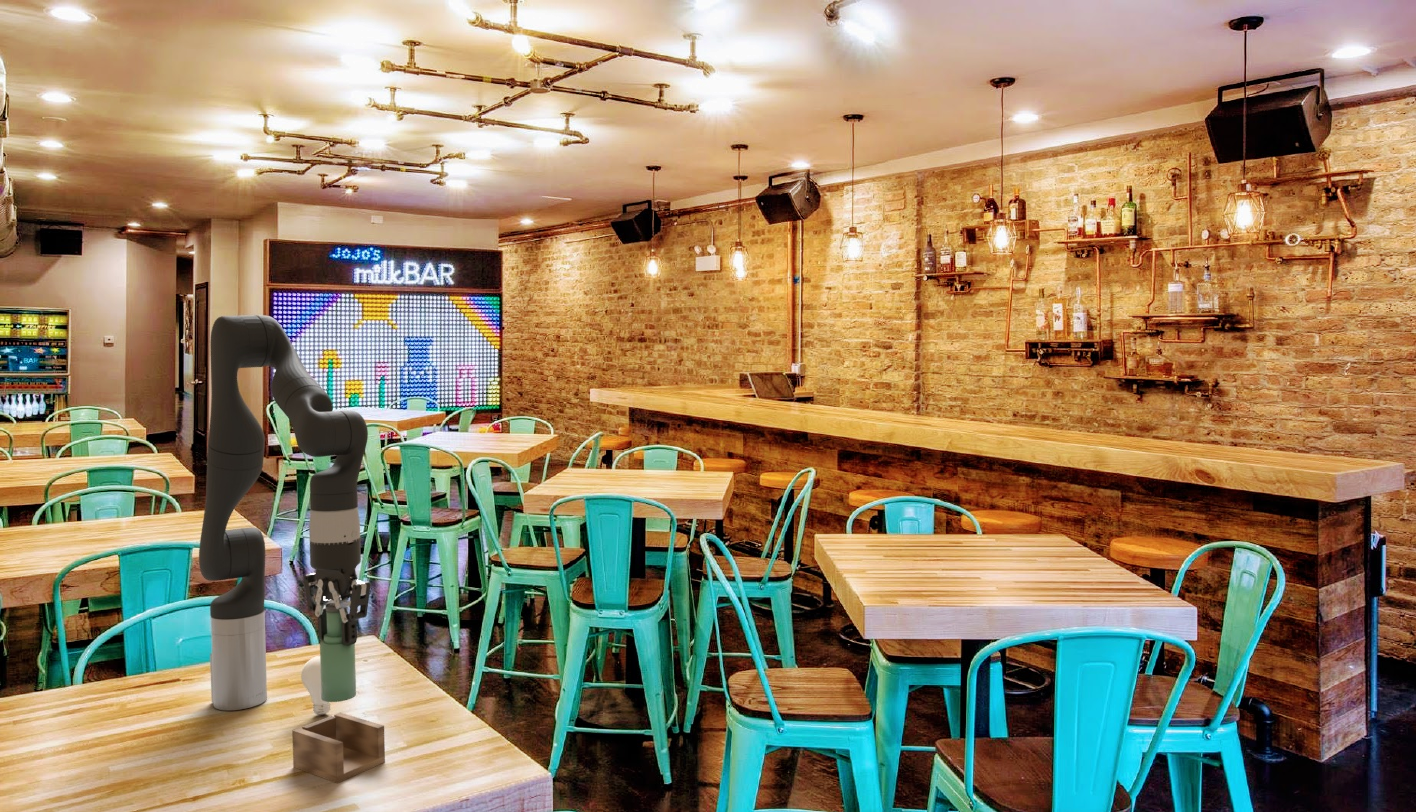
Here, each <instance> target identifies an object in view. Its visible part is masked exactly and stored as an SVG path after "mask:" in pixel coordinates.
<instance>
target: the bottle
mask: <svg viewBox="0 0 1416 812" xmlns="http://www.w3.org/2000/svg"><path fill="white" fill-rule="evenodd" d="M325 605H326V614H327V634H325V635H324V640H321V641H319V656H320V665H321V699H322V700H323V701H326V702H329V703H337V702H338V703H339V702H343V701H348V700H352V699H354V697H356V695H357V679H356V676H357V674H356V671H357V670H356V669H357V668H356V643H355V644H352V645H349V646H345V645H343V644H342V623H343V621H342V618H341V614H340V611H339V610H338V609H336V607H335V603H331V604H328V605H327V604H325ZM346 608H347V609H348V607H346Z"/></svg>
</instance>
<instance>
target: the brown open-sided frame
mask: <svg viewBox="0 0 1416 812" xmlns="http://www.w3.org/2000/svg"><path fill="white" fill-rule="evenodd" d="M291 735H292V760H293V763H292V766H293V768H296V769H297V770H301V771H303V772H306V773H309V774H311V775H315V776H317V777H320V778H323V779H324V780H328V781H331V782H334V783H335V784H336V783H337V784H339V783H341V782H343V781H346V780H347V779H349V778H353V777H354V776H356V775H359V774H361V773H364V772H365V771H368V770H370V769H372V768H374V767H376V766H379V765H381V764H384V763H385V762H386V754H385V753H386V752H385V750H386V747H385V746H386V745H385V725H383V724H379V723H376V722H374V721H373V722H372V721H370V720H366V719H363V718H360V717H357V716H353V715H351V714H346V713H344V712H338V713H336V714H334V715H333V716H332V715H330V716H328V717H325V718H322V719H318V720H316V721H315V722H311V723H309V724H305V725H303V726H301V727H298V728H295V729H293V730H292V734H291Z"/></svg>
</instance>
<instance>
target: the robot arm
mask: <svg viewBox="0 0 1416 812" xmlns="http://www.w3.org/2000/svg"><path fill="white" fill-rule="evenodd" d="M209 342H210V379H211V380H210V382H211V383H210V384H211V404H210V405H211V406H210V418H209V421H210V422H209V432H208V440H207V456H206V490H205V491H206V492H205V493H206V495H205V505H204V506H205V507H204V512H203V513H204V514H203V520H202V526H201V533H200V540H199V549H198V564H199V570H200V574H201V576H202V577H203V579H205V580H206V581H209V582H219V581H227V580H231V579H232V580H233V579H240V578H241V579H240V581H239V582H238V584H236V586H234V587H233V588H231V589H230V590H229V591H227V592H225V593H223V594H221V595H219V596H217V597H215V598H214V599H213V600H212V601H211V603H210V606H209V610H210V614H209V616H210V637H211V640H210V641H211V653H210V654H209V661H210V664H209V665H210V692H211V693H210V694H211V703H213V708H214V709H215V710H220V711H239V710H245V709H248V708H253V707H256V706H259V705H261V704H263V703H264V702H266V700H267V699H268V685H267V680H268V679H267V678H268V677H267V652H266V651H267V650H266V621H265V619H266V618H265V615H266V614H265V598H266V587H265V586H266V583H265V582H266V581H265V579H266V578H265V577H266V576H265V575H266V544H265V538H264V535H263V533H262V531H261V530H260V529H259V528H257V527H252V526H251V527H241V528H232V529H227V526H228V524H229V520H230V518H231V515H232V514H233V512H234V510H235V508H236V507H237V505H238V504H239V503H241V501H242V500H243V498H244V497H245V495H246V494H247V493H248V492H249V491H250V489H252V487H253V486H254V484H255V483H256V482H257V480H258V479H259V477H260V474H261V473H262V470H263V467H264V457H265V456H264V455H265V445H266V443H265V441H266V437H265V433H264V430H263V428H262V426H261V424H260V423H259V421H258V418H256V416H255V415H254V414H253V412H252V411H251V409H250V408H249V406H248V405H247V404H246V402H245V401H244V399H243V397H242V394H241V392H240V387H239V382H238V373H239V369H248V368H264V367H271V368H273V369H274V370H275V372H274V374H273V377H272V381H271V385H270V388H271V394H272V397H273V399H274V402H275V404H276V406H278V407H279V409H280V410H281V411H282V412H283V413H284V415H285V416H286V417H287V418H288V419H289V420H290V424H291V426H292V430H293V433H294V436H295V441H296V445H297V447H298V448H299V450H300V451H301V452H303V453H304V454H305V455H307V456H310V457H313V458H320V457H332V456H336V458H335V460H334V462H333V464H332V466H331V467H329V468H327V469H324V470H321V471H318V472H315V473H314V474H313V475H312V476H311V478H310V481H309V499H310V500H309V503H310V507H309V508H310V514H309V523H308V524H309V525H308V530H309V532H308V533H309V565H310V568H312V569H314V570H315V572H313V573H308V574H304V575H303V577H302V581H303V585H304V592H305V598H306V605H307V609H308V611H309V612H313V613H314V614H315V617H317V628H318V629H317V631H318V632H317V633H318V639H319V640H321V641H322V640H324V635H325V634H327V614H326V605H328V604H331V603H335V607H336V609H338V610H339V611H340V614H341V618H342V621H343V623H342V644H343V645H345V646H349V645H352V644H355V645H356V643H357V639H358V620H360V619H363V618H366V617H367V615H368V611H369V610H368V609H369V608H368V607H369V599H370V591H371V583H370V581H362V580H358V575H357V572H356V568H357V566H358V565H360V564H361V561H362V557H361V523H360V522H361V520H360V514H359V507H358V506H359V505H358V503H359V502H358V480H359V475H360V472H361V467H362V462H363V459H364V455H365V452H366V448H367V444H368V439H369V438H368V437H369V431H368V426H367V423H366V420H365V419H364V417H363V416H362V414H360V413H359V412H357V411H355V410H337V411H335V410H334V411H333V409H334V405H333V401H332V399H331V397H330V396H329V394H328V393H327V392H326V391H325V390H324V389H323V387H321V386H320V384H319V383H318V382H317V381H316V380H315V379H314V378H313V377H312V376H311V375H310V374H309V372H308V370H307V369H306V368H305V366H304V363H303V362H302V360H301V358H300V356H299V354H298V352H297V351H296V348H294V345H293V344H292V341H291V340H290V338H289V336H288V335H287V333H286V332H285V330H284V328H283V326H282V325H281V324H280V323H279V322H278V320H276V319H275V318H273V317H272V316H270V315H265V314H254V315H253V314H252V315H250V314H249V315H247V314H246V315H245V314H243V315H236V314H235V315H223V316H219V317H217V318H216V319H215V320H214V322H213V324H212V328H211V332H210V341H209ZM315 595H316V596H315ZM314 596H315V598H314ZM346 600H347V601H346ZM344 601H345V602H344ZM346 607H347V608H346ZM348 607H349V613H348ZM359 607H360V608H359ZM358 608H359V609H358Z"/></svg>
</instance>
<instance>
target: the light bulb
mask: <svg viewBox="0 0 1416 812" xmlns="http://www.w3.org/2000/svg"><path fill="white" fill-rule="evenodd" d="M300 675H301V676H300V677H301V682H302V685H303V686H304V687H305V689H306V690H307V692H308V694H309V696H310V698H311V699H310V700H311V703H312V704H313V705H312V709H313V710H312V712H313V713H314V714H315V715H316V716H324V715H327V714H328V713H329V712H330V711H331V702H326V701H323V700H322V699H321V665H320V655H316V656H313V657H312V658H310V659H308V661H307V662H305V664H304V666H303V668H302V670H301V674H300Z"/></svg>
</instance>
